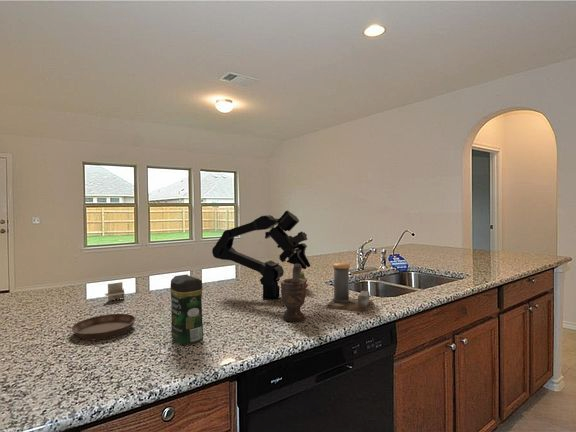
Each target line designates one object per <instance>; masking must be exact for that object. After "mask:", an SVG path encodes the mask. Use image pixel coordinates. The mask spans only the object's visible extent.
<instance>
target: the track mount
mask: <svg viewBox="0 0 576 432" xmlns="http://www.w3.org/2000/svg"><path fill="white" fill-rule="evenodd" d="M333 299H334V297H333V298H332V299H331V300H330V301H329V302H328V303H327V305H326V306H327V307H326V308H327V309H336V310H346V311H347V310H348V311H355V312H367V313H368V312H369V311H370V309H371V306H372V305H373V299H370V291H368V290H367V291H366V290H361V291H360V293H359V294H358V296H357V298H354V297H353V298H352V297H349V301H348V302H347V303H341V302H333Z"/></svg>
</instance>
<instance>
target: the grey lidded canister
mask: <svg viewBox="0 0 576 432" xmlns="http://www.w3.org/2000/svg"><path fill="white" fill-rule="evenodd" d="M350 267H351V264H350V263H347V262H335V263H332V268H333V298H334V299H333V298H332V299H333V302H341V303H347V302H348V301H349V298H350V296H349V295H350V292H349V291H350V286H349V283H350V281H349V280H350V278H349V277H350V275H349V274H350Z"/></svg>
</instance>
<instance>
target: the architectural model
mask: <svg viewBox="0 0 576 432" xmlns="http://www.w3.org/2000/svg"><path fill="white" fill-rule="evenodd" d="M123 286H124V285H123V281H120V282H112V283H108V284H107V293H104V295H105V296H106V297H107V299H108V300H107V302H110V301H109V300H114V299H117V300H116V301H119V299H120V298H123V299H124V300H125V289H124V288H123ZM123 299H122V300H123ZM120 300H121V299H120ZM114 301H115V300H114Z"/></svg>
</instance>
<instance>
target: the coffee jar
mask: <svg viewBox="0 0 576 432" xmlns="http://www.w3.org/2000/svg"><path fill="white" fill-rule="evenodd" d="M202 295H203V282H202V279H200V278H197V277H194V276H191V275H189V274H186V273H185V274H181V275H180V274H179V275H175V276H173V277H172V279H171V280H170V299H171V300H170V301H171V302H170V303H171V304H170V305H171V306H170V307H171V308H170V309H171V327H170V328H171V329H170V333H171V338H172V340H173V341H174V342H176V343H177V344H180V345H193V344H195V343H198V342H200V341H201V340H203V338H204V325H203V324H204V323H203V304H202V302H203V300H202V299H203V298H202V297H203V296H202Z"/></svg>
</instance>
